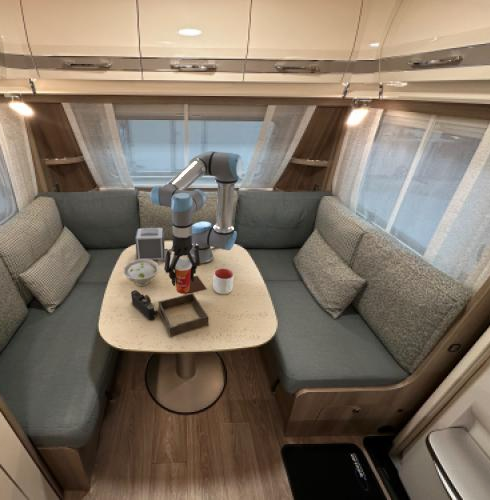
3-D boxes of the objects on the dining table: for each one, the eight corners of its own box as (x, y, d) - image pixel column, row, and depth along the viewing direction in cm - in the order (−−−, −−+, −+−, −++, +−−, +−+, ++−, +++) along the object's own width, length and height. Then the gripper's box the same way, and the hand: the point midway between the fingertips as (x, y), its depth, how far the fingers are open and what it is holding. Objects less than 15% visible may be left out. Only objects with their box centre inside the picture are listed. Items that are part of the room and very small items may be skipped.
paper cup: (170, 289, 116) (169, 262, 108) (183, 281, 120) (182, 255, 113) (182, 297, 111) (182, 270, 104) (195, 289, 115) (196, 262, 108)
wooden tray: (192, 300, 133) (192, 292, 130) (207, 325, 118) (208, 317, 116) (158, 309, 127) (158, 301, 124) (170, 336, 113) (169, 328, 110)
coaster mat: (197, 276, 151) (197, 275, 150) (206, 288, 141) (206, 288, 141) (177, 281, 147) (177, 280, 146) (184, 294, 137) (184, 293, 137)
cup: (218, 281, 147) (219, 266, 142) (234, 287, 142) (236, 271, 137) (209, 291, 139) (210, 275, 134) (227, 297, 135) (228, 281, 130)
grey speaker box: (165, 250, 175) (164, 225, 166) (165, 261, 164) (164, 234, 155) (137, 251, 174) (135, 225, 165) (135, 262, 163) (132, 235, 154)
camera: (161, 315, 124) (160, 301, 120) (149, 322, 120) (148, 308, 116) (141, 297, 134) (140, 284, 130) (130, 303, 130) (128, 290, 126)
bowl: (167, 279, 148) (166, 264, 143) (143, 298, 134) (142, 282, 129) (141, 268, 157) (139, 253, 152) (116, 284, 143) (114, 269, 138)
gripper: (202, 226, 108) (201, 272, 120) (153, 234, 101) (156, 282, 113) (210, 233, 102) (208, 281, 114) (159, 243, 95) (162, 292, 107)
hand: (182, 281), depth 113 cm, fingers closed on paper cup, 8 cm apart
